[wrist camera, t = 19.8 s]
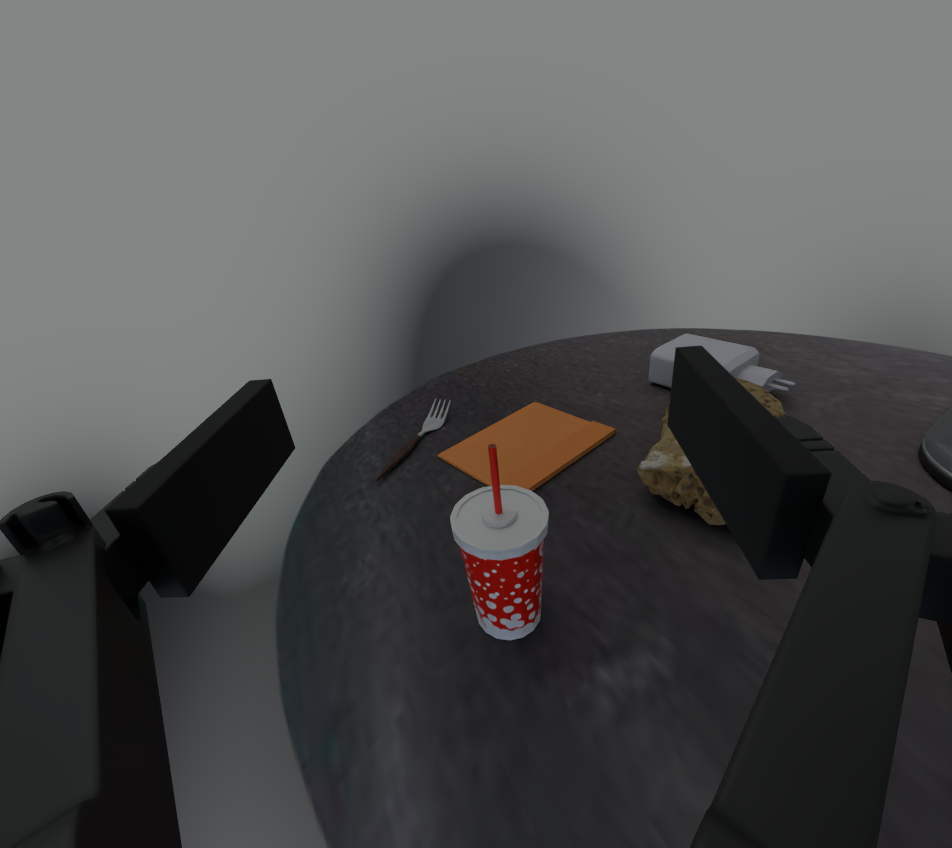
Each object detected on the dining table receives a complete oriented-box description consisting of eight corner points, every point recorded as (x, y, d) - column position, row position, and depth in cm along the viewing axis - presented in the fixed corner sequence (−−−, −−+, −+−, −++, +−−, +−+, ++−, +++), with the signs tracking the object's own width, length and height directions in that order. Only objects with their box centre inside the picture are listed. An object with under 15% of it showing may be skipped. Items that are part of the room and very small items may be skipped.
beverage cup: (537, 663, 30) (526, 487, 23) (451, 634, 32) (418, 467, 25) (562, 590, 35) (559, 426, 28) (485, 569, 37) (466, 414, 30)
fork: (366, 482, 49) (362, 466, 48) (436, 411, 62) (434, 397, 61) (387, 486, 48) (383, 470, 47) (454, 413, 61) (452, 399, 60)
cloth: (534, 403, 61) (534, 399, 60) (615, 433, 53) (615, 428, 52) (437, 456, 52) (437, 452, 52) (515, 502, 44) (515, 497, 44)
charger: (768, 421, 51) (647, 384, 62) (803, 393, 56) (685, 363, 67) (777, 382, 49) (650, 350, 60) (813, 355, 54) (690, 331, 64)
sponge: (755, 559, 37) (831, 413, 46) (744, 485, 33) (830, 343, 43) (610, 512, 47) (697, 400, 56) (589, 452, 43) (687, 342, 52)
